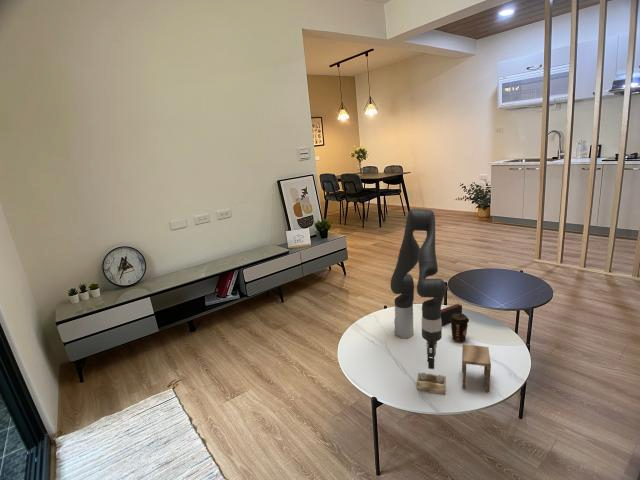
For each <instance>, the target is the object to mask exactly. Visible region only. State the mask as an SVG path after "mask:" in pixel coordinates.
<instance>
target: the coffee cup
mask: <svg viewBox="0 0 640 480" xmlns="http://www.w3.org/2000/svg"><path fill="white" fill-rule="evenodd" d="M450 321H451V323H450V327H451V337H452V339H451V340H452V342H454V343H458V344H463V343H465V342H466V341H467V340H466V339H467V337H466V336H467V334H468V327H469V326H468V325H469V324H468V323H469V322H470V319H469V318H468V316H467V315H466V314H464V313H463V312H462V313H456V314H453V315H452V317H451V318H450Z"/></svg>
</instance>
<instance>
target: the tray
mask: <svg viewBox="0 0 640 480" xmlns="http://www.w3.org/2000/svg"><path fill="white" fill-rule="evenodd" d="M446 380H447V377H446V376H445V375H441V374H432V373H431V374H430V373H426V372H418V373H417V379H416V387H417V388H416V389H417V391H422V392H429V393H436V394H441V395H446V384H447V383H446Z"/></svg>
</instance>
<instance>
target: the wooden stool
mask: <svg viewBox="0 0 640 480" xmlns="http://www.w3.org/2000/svg"><path fill="white" fill-rule="evenodd" d="M490 356H491V355H490V350H489V346H483V345H481V346H480V345H473V344H463V343H462V355H461V357H462V358H461V359H462V362H461V372H462V385H461V387H462V389H464V390H466V387H467V365H471V366H472V365H473V366H479V367H480V366H481V367H484V368H483V375H484V383H485V392H486V393H488V392H490V389H491V371H492V363H491V357H490Z"/></svg>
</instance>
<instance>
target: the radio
mask: <svg viewBox="0 0 640 480" xmlns="http://www.w3.org/2000/svg"><path fill="white" fill-rule="evenodd" d="M456 313H462V314H463V305H462V304H459V303H453V304H452V305H450V306H447V307H445V308H441V321H442V327H444V326H445V327H446V326H447V325H451V321H450V318H451V317H452V315H453V314H456Z"/></svg>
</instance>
